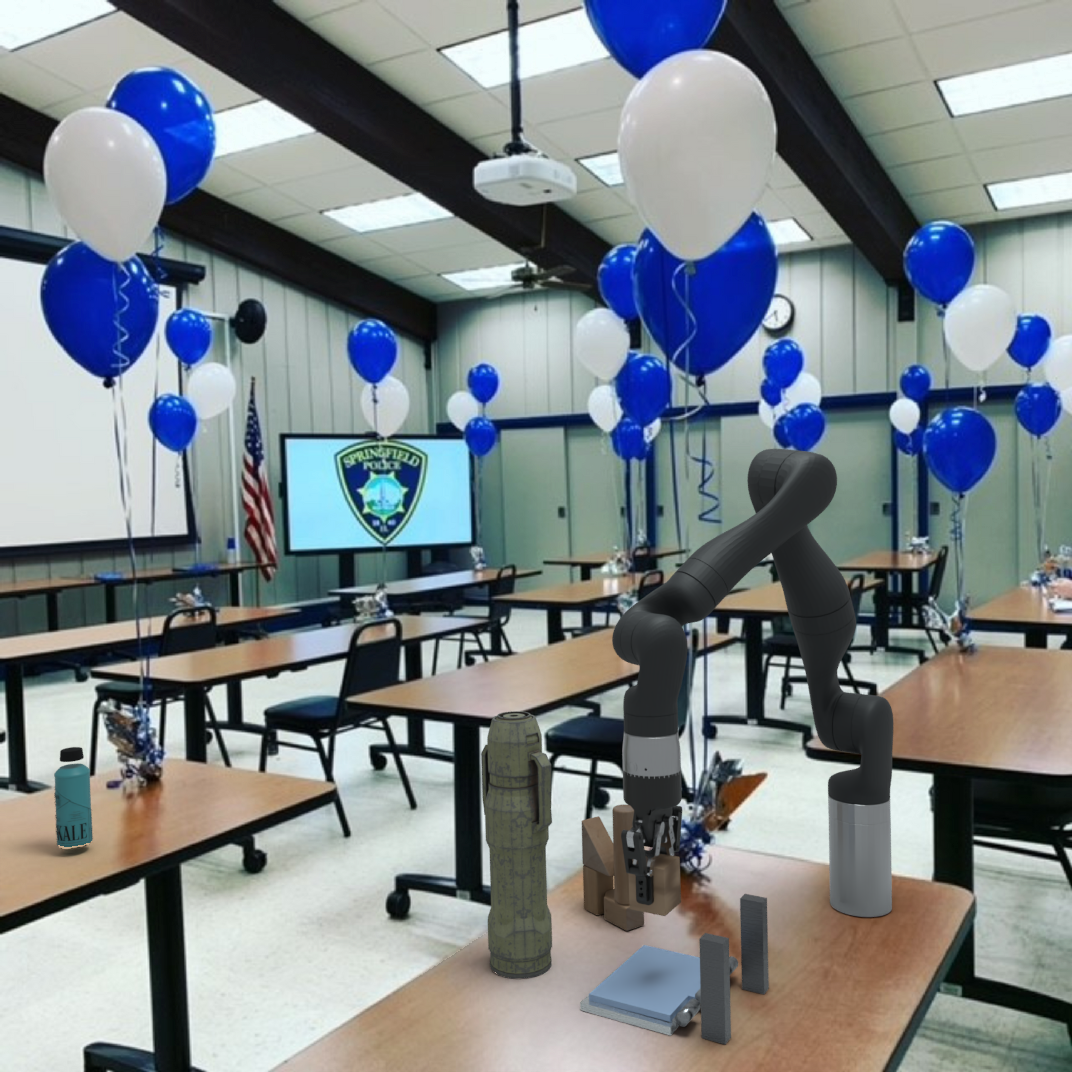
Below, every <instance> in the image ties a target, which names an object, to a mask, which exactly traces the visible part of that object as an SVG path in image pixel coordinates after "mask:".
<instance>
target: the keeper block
mask: <svg viewBox="0 0 1072 1072" xmlns="http://www.w3.org/2000/svg"><path fill="white" fill-rule="evenodd" d="M633 860H634V859H633ZM633 860H632V861H633ZM647 862H648V857H647V856H646V864H647ZM680 862H681V861H680V856H676V855H674V856H671V855H665V854H659V857H658V858H656V859H655V863H654V872H653V883H654V902H653V903H652V904H651V905H645V904H640V903H638V902H637V901H636V876H635V875H634V874H629V873H628V875H629V905H630V909H631V910H636V911H641V912H644V913H647V914H651V915H652V914H653V915H657V916H662V917H666V916H667V915H668V914H670V912H672V911H673V910H674V909H675V908H676V907H678V906H679V905H680V904H681V903H682V893H681V892H682V891H681V889H682V887H681V863H680Z"/></svg>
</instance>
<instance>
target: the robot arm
mask: <svg viewBox="0 0 1072 1072" xmlns="http://www.w3.org/2000/svg"><path fill="white" fill-rule="evenodd" d="M836 470H837V469H836V467H835V465H834V463H833V462H832V460H830V459H829V458H828V457H826V456H824V455H823V454H820V453H816V452H812V451H804V450H798V449H796V450H795V449H787V448H786V449H785V448H783V449H782V448H768V449H767V448H766V449H763V450H761V451H759V452H758V453H756V455H755V456H754V457H753V459H752V460H751V462H750V465H749V467H748V472H747V490H748V495H749V499H750V501H751V505H752V507H753V510H754V512H755V513H754V514H753V515H752V516H750V517H748V518H747V519H746V520H744V521H743V522H741V523H739V524H737V525H735V526H733V527H732V528H730V529H728V530H727V531H726V530H725V531H724V532H722V533H720V534H719V535H717V536H716V537H713V538H711V539H710V540H708V541H706V542H705V543H704V544H702V545H701V546H700V547H699V548H697V549H696V550H695V551H694V552H693V553H692V554H691V555H690V556H689V557H688V558H687V559H686V560H685V561H684V563H683V564H682V565H680V566H679V568H678V569H677V570H676V571H675V572H674V573H673V574H672V575H671V576H670V578H669V579H668V580H667V581H666V582H665V583H663V584H662V585H660V586H658V587H657V588H655V589H654V590H653V591H650V593H648V594H647V595H645V596H644V597H643V598H641V599H640V600H638V601H637V602H636V603H633V605H632V606H630V607H629V608H628V609H627V610H626V611H625V612H624V613H623V614H622V615H621V617H620V618H619V619H618V621H617V623H616V624H615V626H614V629H613V631H612V648H613V650H614V652H615V654H616V655H617V656H618V658H620V659H621V660H622V661H624V662H627V664H628V663H629V664H631V665H635V666H639V669H638V670H639V671H638V677H637V684H636V685H632V686H630V687H629V688H627V689H626V690H625V693H624V695H623V704H622V705H623V708H622V709H623V710H622V711H623V741H622V754H621V755H622V793H623V794H622V795H623V801H624V803H625V805H630V806H631V807H632V808H633V809H634V816H633V821H632V828H631V830H630V831H629V830H623V831H622V833H621V840H622V847H623V854H624V861H625V868H626V873H629V874H634V875H635V876H636V901H637V902H638V903H640V904H645V905H651V904H652V903H653V902H654V883H653V872H654V863H655V859H656V858H658V857H659V854H665V855H671V856H675V853H678V852H680V847H681V834H682V833H681V832H682V822H683V821H682V820H683V806H681V805H679V804H680V803H681V802H682V758H681V756H682V755H681V753H682V752H681V751H682V750H681V744H680V743H681V742H680V738H679V713H678V711H679V708H678V706H679V705H678V699H679V694H680V691H681V688H682V683H683V678H684V674H685V670H686V664H687V659H688V641H687V637H686V632H685V630H684V629H683V626H685V625H687V624H692V623H698V622H701V621H703V620H704V619H705V618H707V617H708V616H709V615H710V614H711V613H712V612H713V611H714V609H716V607H718V606H719V604H720V603H721V602H722V601H723V600H724V599H725V598H726V597H727V596H728V594H730V592H731V591H732V590H733V589H734V588H735V587H736V585H737V584H738V583H739V582H741V580H742V579H744V577H746V575H748V573H750V572H751V571H752V570H754V568H755V567H756V566H757V565H759V564H760V563H761V562H762V561H764V559H766V558H767V557H768V556H770V555H771V556H772V559H773V562H774V565H775V569H776V573H777V576H778V578H779V582H780V584H781V585H780V586H781V588H782V591H783V596H784V599H785V600H784V601H785V605H786V609H787V612H788V616H789V619H790V623H791V626H792V630H793V633H794V636H795V640H796V642H797V645H798V650H799V653H800V656H801V661H802V664H803V668H804V671H805V672H804V674H805V677H806V682H807V687H808V693H809V698H810V699H809V700H810V704H811V705H810V706H811V711H812V716H813V723H814V726H815V730H816V734H817V737H818V739H819V740H820V743H821V744H822V745H823V746H824V747H825V748H827V749H830V750H832V751H837V752H843V753H848V754H849V753H850V754H856V755H861V756H860V757H861V759H860V765H859V766H858V767H857V768H852V769H847V770H843V771H839V772H836V773H833V774H832V775H831V776H830V777H829V778H828V780H827V801H828V803H827V804H828V805H827V809H828V813H827V814H828V849H829V850H828V857H829V858H828V859H829V905H830V906H831V907H832V908H833V909H834V910H836V911H838V912H840V913H843V914H844V915H845V914H846V915H849V916H854V917H862V918H873V917H874V918H875V917H882V916H885V915H888V914H889V913H890V912H891V911H892V910H893V899H892V898H893V896H892V895H893V893H892V892H893V891H892V890H893V888H892V885H893V884H892V880H893V878H892V877H893V876H892V874H893V873H892V871H893V869H892V827H891V826H892V820H891V818H892V817H891V816H892V815H891V785H892V777H893V776H892V775H893V749H894V748H893V745H894V714H893V713H894V712H893V708H892V706H891V704H890V702H889V700H887V699H886V698H885V697H883V696H880V695H879V696H878V695H874V694H865V693H863V694H862V693H854V692H848V691H847V692H846V691H844V690H843V689H842V687H841V686H840V682H839V676H838V669H839V666H840V663H841V661H842V659H843V657H844V655H845V654H846V652H847V650H848V648H849V646H850V644H851V642H852V640H853V638H854V635H855V631H856V627H857V618H856V611H855V610H854V609H855V608H854V606H853V601H852V597H851V592H850V589H849V586H848V584H847V581H846V579H845V577H844V576H843V574H842V572H841V571H840V570H839V568H838V567H837V565H836V564H835V562H834V561H833V560H832V559H831V558H830V556H829V555H828V554H827V552H825V550H824V549H823V548H822V547H821V545H820V544H819V542H818V541H817V539H816V538H815V537H814V535H813V534H812V532H811V530H810V528H809V527H808V525H809V524H810V523H812V522H813V521H814V520H815V519H816V518H818V517H819V516H820V515H822V513H823V512H824V511H825V510H826V509H827V508H828V507H829V506H830V504H831V502H832V500H833V499H834V497H835V494H836V491H837V487H838V476H837V475H838V474H837V471H836ZM645 847H647V848H651V849H650V850H648V849H645ZM646 856H647V857H648V862H647V864H646ZM632 859H634V860H633V861H632Z"/></svg>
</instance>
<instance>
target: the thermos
mask: <svg viewBox="0 0 1072 1072" xmlns="http://www.w3.org/2000/svg"><path fill="white" fill-rule="evenodd" d="M486 742H487V743H486V744H484V747H483V749H482V750H481V753H480V755H481V758H480V759H481V760H480V761H481V788H482V790H481V791H482V792H481V793H482V794H481V795H482V798H481V799H482V805H483V812H484V813H483V815H484V822H485V829H484V830H485V842H486V844H487V847H488V848H489V872H490V873H489V876H490V878H489V880H490V883H489V884H490V885H489V886H490V909H489V913H488V916H487V943H488V949H487V950H489V954H490V958H489V959H490V960H489V968H490V967H491V968H490V970H491V969H492V970H493V971H494V972H496V973H497V974H498V976H500V975H502V976H501V977H503V976H505V977H504V978H506V977H509V978H508V979H513V978H526V979H530V978H535V977H539V976H541V975H544V974H545V973H546V972H548V971H549V970H550V968H551V967H552V952H551V950H552V949H553V936H552V935H553V931H552V930H553V927H552V926H553V925H552V920H553V919H552V913H551V911H550V909H549V906H548V886H547V883H548V882H547V854H546V853H547V852H546V851H547V850H546V847H547V844H548V841H549V839H550V837H549V835H550V830H549V827H550V826H551V825H552V824H553V818H552V816H553V814H552V763H551V761H550V759H549V757H548V755H547V753H545V752H543V739H542V730H541V728H540V725H539V723H538V720H537V717H536V715H534V714H531V713H530V712H526V711H519V710H513V711H511V710H510V711H504V712H501V713H498V714H497V715H496V716H494V717H492V718H491V723H490V726H489V730H488V734H487V739H486ZM492 970H491V971H492ZM493 971H492V972H493ZM494 972H493V973H494ZM496 973H495V974H496ZM497 974H496V975H497Z"/></svg>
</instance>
